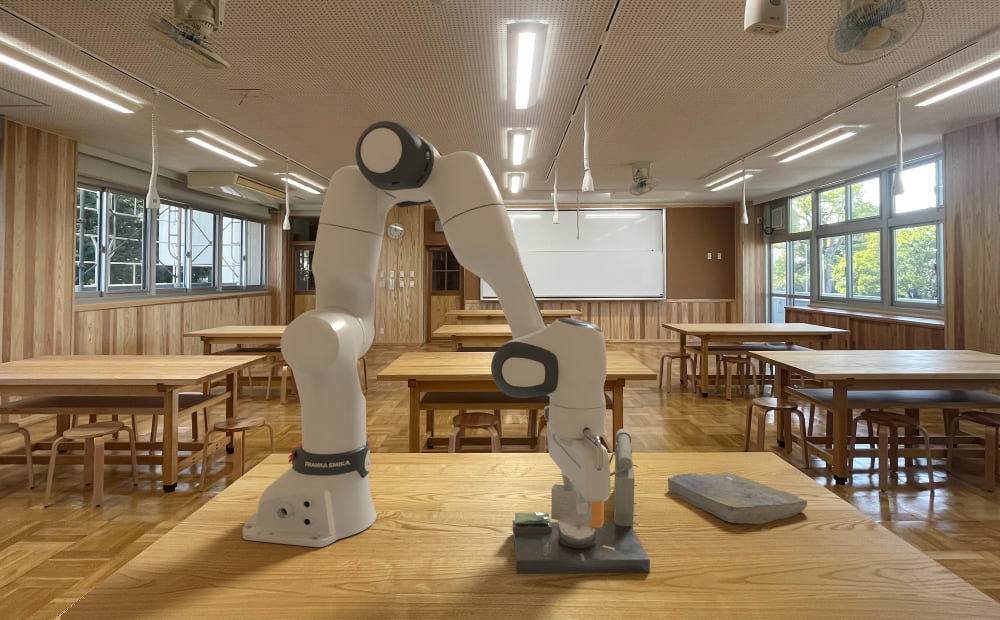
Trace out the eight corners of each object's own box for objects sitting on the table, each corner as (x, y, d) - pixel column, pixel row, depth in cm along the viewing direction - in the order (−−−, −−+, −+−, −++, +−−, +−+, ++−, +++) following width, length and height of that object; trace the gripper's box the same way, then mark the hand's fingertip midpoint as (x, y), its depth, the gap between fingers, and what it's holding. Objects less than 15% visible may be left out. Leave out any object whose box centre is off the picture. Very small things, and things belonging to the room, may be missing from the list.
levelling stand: (515, 573, 77) (515, 541, 77) (512, 533, 89) (512, 505, 89) (649, 572, 77) (650, 540, 77) (628, 533, 89) (629, 504, 89)
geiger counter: (641, 461, 86) (635, 421, 111) (603, 457, 88) (605, 419, 112) (639, 541, 87) (633, 484, 112) (601, 537, 89) (603, 481, 113)
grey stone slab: (723, 482, 115) (661, 489, 109) (725, 462, 115) (663, 468, 108) (806, 524, 97) (738, 535, 90) (809, 500, 96) (740, 510, 90)
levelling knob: (547, 542, 82) (548, 493, 81) (557, 525, 87) (558, 479, 87) (598, 552, 79) (599, 501, 78) (605, 534, 84) (606, 486, 84)
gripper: (623, 439, 72) (620, 535, 73) (575, 404, 92) (574, 479, 93) (580, 441, 71) (578, 538, 72) (541, 405, 91) (540, 481, 92)
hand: (575, 504), depth 83 cm, fingers open, 4 cm apart
